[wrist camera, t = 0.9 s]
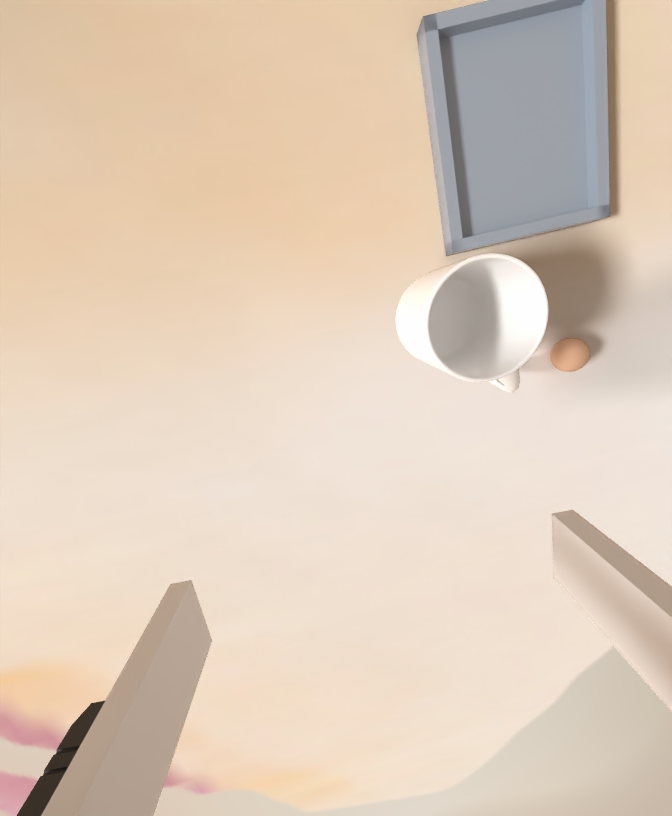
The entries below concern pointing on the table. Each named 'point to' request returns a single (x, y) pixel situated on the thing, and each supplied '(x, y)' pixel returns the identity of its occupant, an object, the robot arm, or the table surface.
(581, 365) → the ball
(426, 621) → the table surface
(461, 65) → the tray
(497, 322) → the mug
